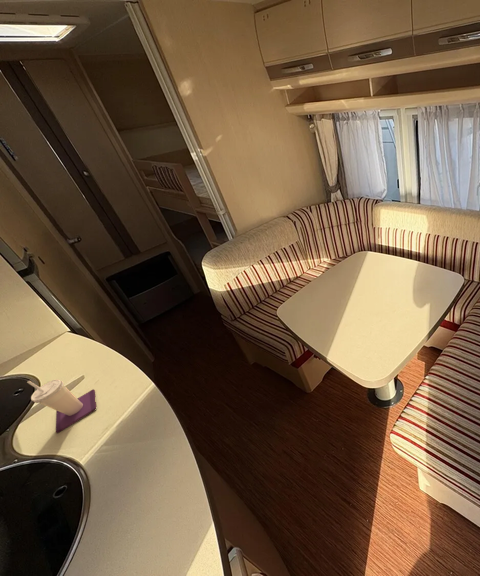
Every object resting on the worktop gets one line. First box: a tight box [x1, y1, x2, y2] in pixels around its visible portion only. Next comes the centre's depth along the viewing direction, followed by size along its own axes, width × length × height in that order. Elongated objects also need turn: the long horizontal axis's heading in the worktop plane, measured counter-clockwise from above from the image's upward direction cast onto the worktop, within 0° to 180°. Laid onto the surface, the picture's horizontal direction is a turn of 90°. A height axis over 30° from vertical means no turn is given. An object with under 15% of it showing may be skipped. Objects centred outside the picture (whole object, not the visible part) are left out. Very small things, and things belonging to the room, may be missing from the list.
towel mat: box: [55, 388, 97, 434], centre depth 86 cm, size 9×9×1 cm
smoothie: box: [26, 378, 83, 416], centre depth 81 cm, size 6×6×14 cm
